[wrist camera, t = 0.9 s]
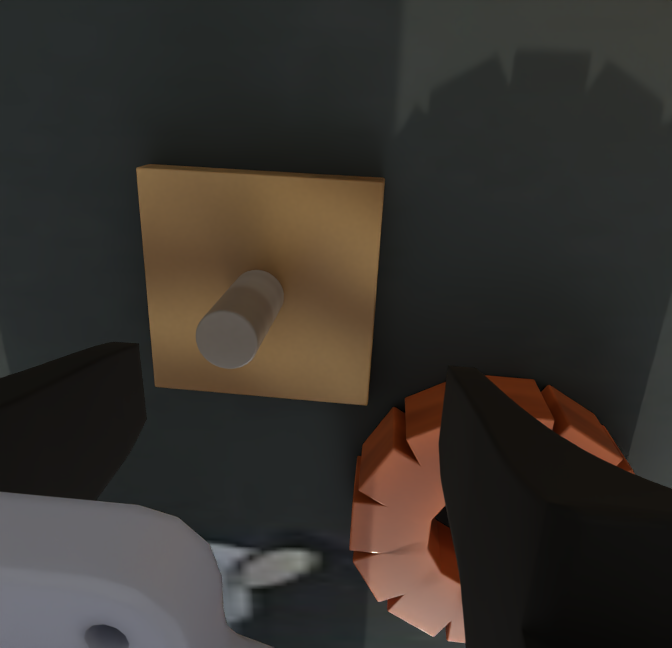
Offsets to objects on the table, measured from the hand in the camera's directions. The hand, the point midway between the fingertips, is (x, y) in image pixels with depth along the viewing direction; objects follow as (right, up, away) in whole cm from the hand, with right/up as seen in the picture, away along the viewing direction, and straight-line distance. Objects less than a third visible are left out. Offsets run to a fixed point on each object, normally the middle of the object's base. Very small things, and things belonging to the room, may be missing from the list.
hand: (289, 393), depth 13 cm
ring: (+8, -6, +12) cm, 16 cm away
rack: (-2, +3, +10) cm, 10 cm away
